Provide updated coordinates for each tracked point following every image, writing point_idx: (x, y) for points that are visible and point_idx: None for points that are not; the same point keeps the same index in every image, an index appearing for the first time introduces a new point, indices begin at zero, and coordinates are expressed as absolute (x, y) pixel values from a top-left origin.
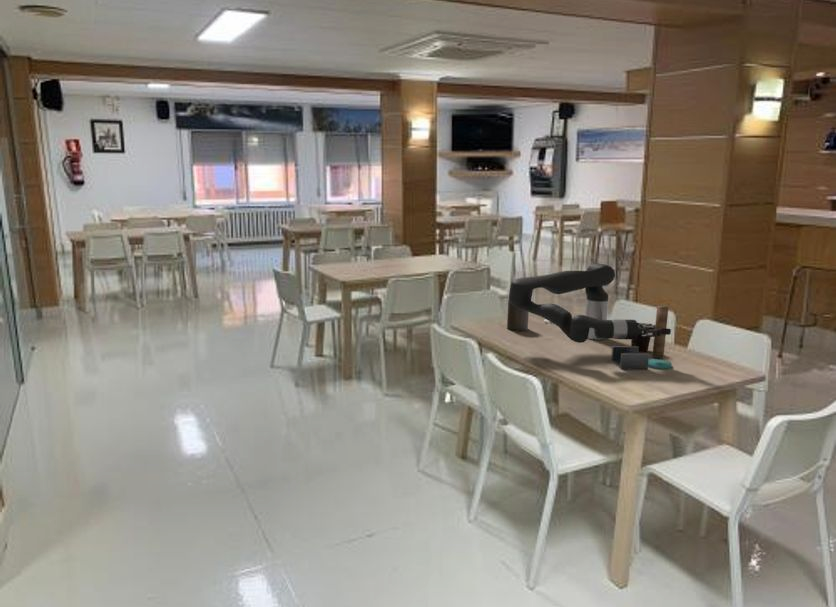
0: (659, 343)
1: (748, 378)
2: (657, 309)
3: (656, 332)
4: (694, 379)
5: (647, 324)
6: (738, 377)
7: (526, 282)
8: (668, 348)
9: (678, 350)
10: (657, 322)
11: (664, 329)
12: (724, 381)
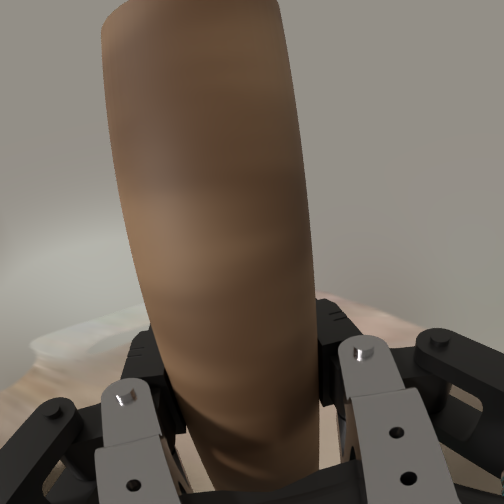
0: (318, 468)
1: (347, 300)
2: (200, 26)
3: (293, 432)
4: (457, 391)
5: (150, 487)
6: (349, 312)
7: None
8: (14, 409)
9: (43, 392)
10: (282, 295)
11: (330, 323)
12: (417, 332)
